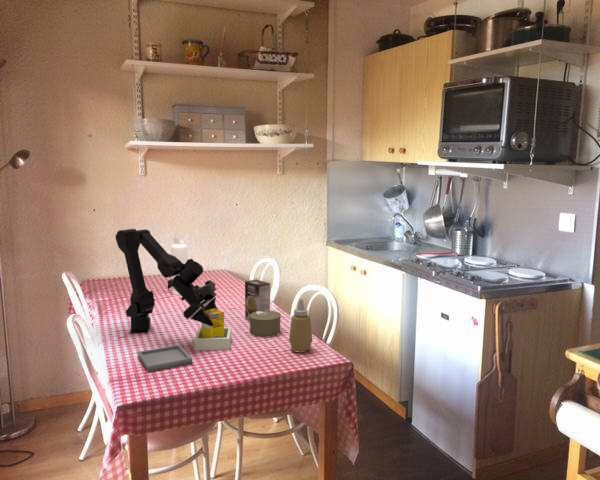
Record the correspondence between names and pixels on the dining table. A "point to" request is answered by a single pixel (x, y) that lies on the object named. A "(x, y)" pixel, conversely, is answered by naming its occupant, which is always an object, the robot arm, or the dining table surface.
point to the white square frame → (213, 341)
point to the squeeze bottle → (300, 329)
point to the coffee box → (256, 297)
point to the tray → (164, 358)
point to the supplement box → (218, 322)
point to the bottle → (179, 253)
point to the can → (264, 323)
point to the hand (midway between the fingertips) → (216, 321)
